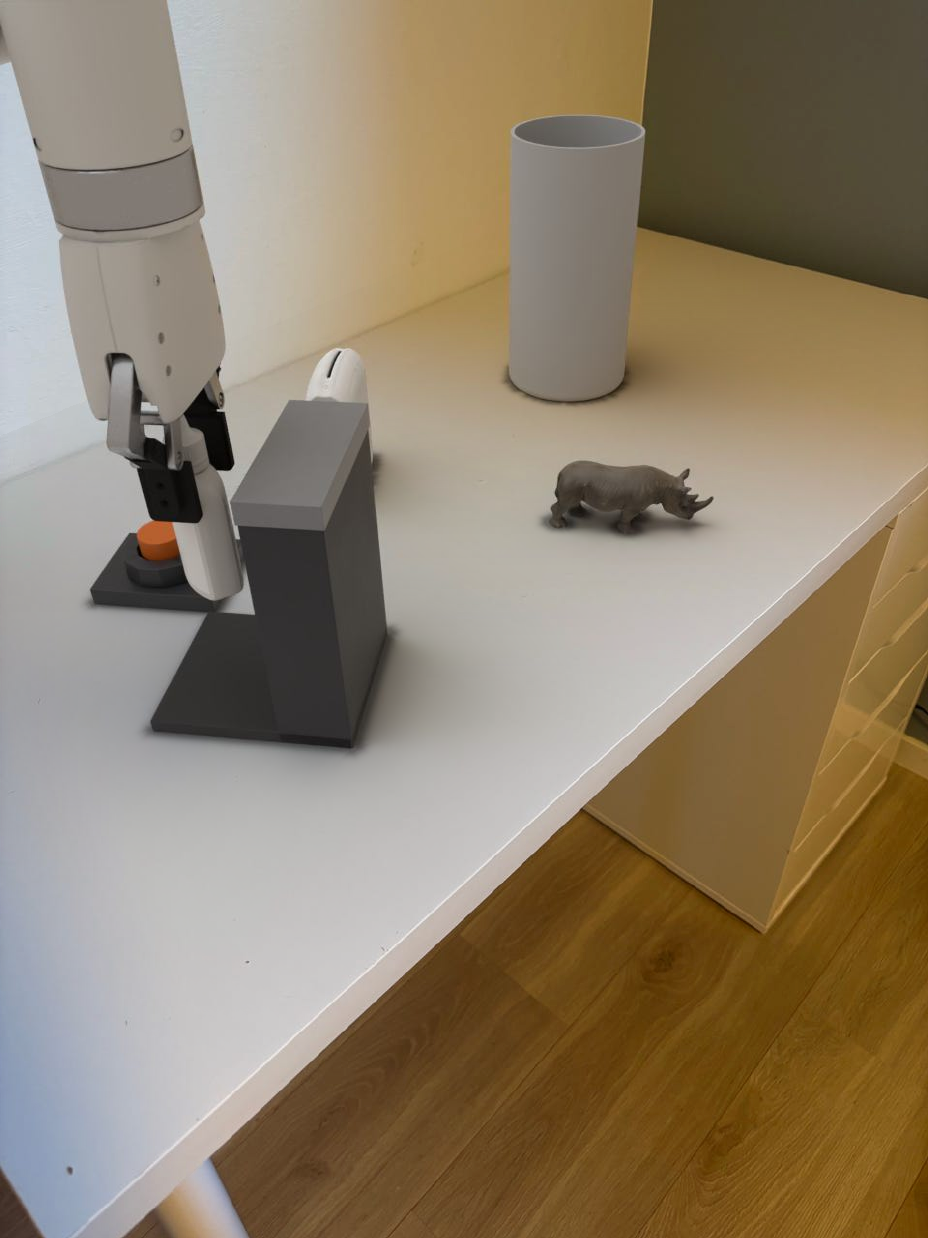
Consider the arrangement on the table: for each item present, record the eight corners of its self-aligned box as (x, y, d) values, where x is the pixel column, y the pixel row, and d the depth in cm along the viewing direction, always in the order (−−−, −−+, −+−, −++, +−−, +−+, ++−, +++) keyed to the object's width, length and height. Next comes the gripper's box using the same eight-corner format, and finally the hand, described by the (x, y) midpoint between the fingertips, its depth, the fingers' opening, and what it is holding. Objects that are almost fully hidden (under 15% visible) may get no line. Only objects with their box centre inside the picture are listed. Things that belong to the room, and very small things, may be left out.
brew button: (134, 560, 79) (129, 542, 77) (151, 535, 81) (146, 517, 80) (178, 563, 78) (173, 545, 77) (193, 537, 81) (189, 519, 80)
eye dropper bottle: (174, 605, 64) (130, 440, 57) (189, 555, 68) (150, 395, 61) (241, 602, 64) (207, 437, 57) (252, 552, 69) (222, 392, 61)
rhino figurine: (710, 543, 84) (720, 482, 80) (547, 533, 86) (550, 473, 82) (707, 516, 87) (717, 456, 83) (551, 507, 89) (553, 448, 85)
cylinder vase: (485, 377, 109) (483, 131, 93) (564, 344, 116) (575, 108, 100) (567, 416, 102) (580, 156, 86) (647, 378, 108) (673, 129, 92)
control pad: (94, 606, 79) (83, 571, 77) (133, 548, 85) (124, 514, 83) (215, 614, 78) (207, 579, 76) (246, 555, 84) (239, 521, 82)
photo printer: (360, 516, 88) (347, 388, 81) (313, 514, 89) (295, 387, 81) (378, 457, 96) (367, 335, 89) (334, 456, 97) (320, 335, 89)
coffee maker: (152, 734, 68) (76, 492, 56) (211, 622, 77) (157, 393, 65) (354, 752, 66) (321, 506, 54) (389, 635, 76) (368, 402, 63)
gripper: (122, 144, 58) (185, 424, 69) (-30, 244, 45) (79, 570, 56) (246, 145, 57) (289, 429, 68) (129, 248, 44) (206, 578, 55)
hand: (194, 490), depth 62 cm, fingers closed on eye dropper bottle, 5 cm apart
